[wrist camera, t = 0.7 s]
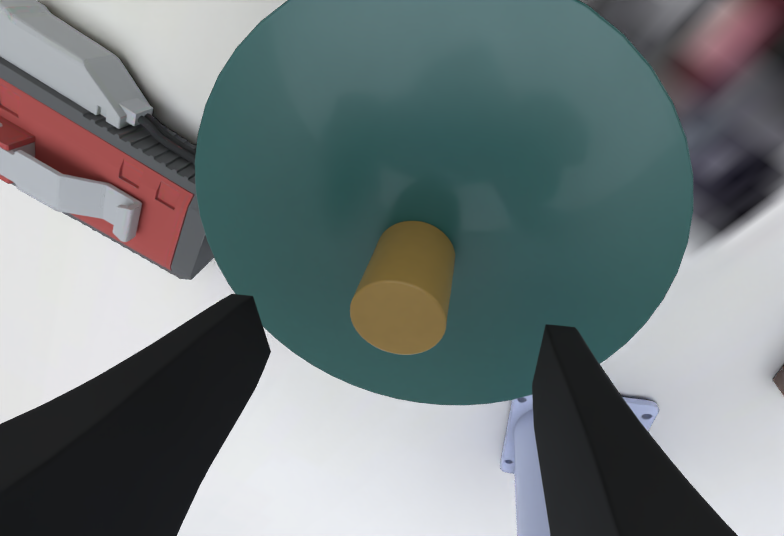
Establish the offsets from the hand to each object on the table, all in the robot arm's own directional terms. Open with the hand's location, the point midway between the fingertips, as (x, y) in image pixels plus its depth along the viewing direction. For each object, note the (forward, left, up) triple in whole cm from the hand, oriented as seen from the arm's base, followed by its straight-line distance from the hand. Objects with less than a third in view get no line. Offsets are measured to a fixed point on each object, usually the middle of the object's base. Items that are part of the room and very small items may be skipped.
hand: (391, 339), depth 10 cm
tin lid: (0, 0, -4) cm, 4 cm away
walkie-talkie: (+3, +18, -11) cm, 21 cm away
